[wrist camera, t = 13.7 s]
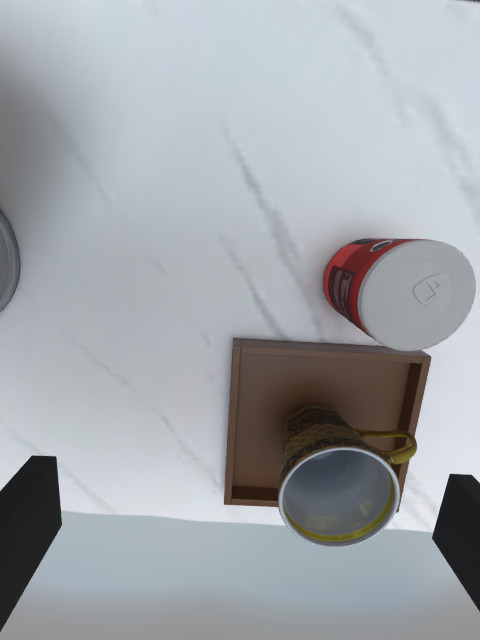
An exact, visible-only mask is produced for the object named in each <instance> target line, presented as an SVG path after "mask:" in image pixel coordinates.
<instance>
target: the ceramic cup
mask: <svg viewBox="0 0 480 640" xmlns="http://www.w3.org/2000/svg"><path fill="white" fill-rule="evenodd" d="M370 436H375V437H407V438H409V439H410V443H409V444H408V445H407V446H405V447H403V448H400V449H397V450H392V451H382V450H380V449H378V448H376V447H374V446H373V445H370V444H369V443H368V442H366V441H365V440H364V439H365V438H366V437H370ZM416 450H417V443H416V440H415V438H414V436H413V435H412V434H411V433H409V432H407V431H403V430H390V431H374V430H359V429H356V428H352V427H351V426H350V425H349V424H348V423H347V422H346V421H344V420H343V419H342V418H341V417H340V416H339V415H338V414H337V413H336V412H335V411H334V409H332V408H328V407H322V406H316V405H310V404H309V405H306V406H305V407H303V408H301V409H300V410H298V411H296V412H295V413H293V414H291V415H290V416H288V418H287V421H286V425H285V429H284V433H283V437H282V452H281V467H280V471H279V480H278V507H279V512H280V514H281V517H282V519H283V521H284V523H285V524H286V526H287V527H288V528H289V530H290V531H292V533H294V534H295V535H296V536H297V537H299V538H300V539H302V540H303V541H306V542H308V543H310V544H313V545H316V546H320V547H326V548H343V547H349V546H353V545H357V544H360V543H363V542H365V541H367V540H369V539H371V538H372V537H374V536H375V535H377V534H378V533H379V532H381V531H382V530H383V529H384V528H385V527H386V526H387V525H388V524H389V522H390V521H391V520H392V518H393V516H394V514H395V512H396V510H397V507H398V504H399V499H400V487H399V482H398V479H397V476H396V474H395V472H394V471H393V469H392V468H391V466H390V465H391V464H400V463H403V462H406V461H408V460H409V459H410V458H411V457H412V456H413V455H414V454H415V452H416Z"/></svg>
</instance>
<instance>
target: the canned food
mask: <svg viewBox="0 0 480 640" xmlns="http://www.w3.org/2000/svg"><path fill="white" fill-rule="evenodd" d="M324 290H325V294H326V297H327V300H328V301H329V303H330V304H331V306H332V307H333V308H334V309H335V310H336V311H338V312H339V313H340V314H341V315H343V316H344V317H345V318H347V319H348V320H349V321H350V322H352V323H353V324H354V325H355V326H357V327H358V328H359V329H361V330H362V331H363V332H364V333H366V334H367V335H368V336H370V337H371V338H373V339H374V340H376V341H377V342H379V343H380V344H382V345H385V346H387V347H389V348H392V349H395V350H401V351H417V350H422V349H427V348H429V347H432V346H434V345H437V344H438V343H440V342H442V341H443V340H445V339H447V338H448V337H449V336H450V335H452V334H453V333H454V332H455V331H456V330H457V329H458V328H459V327H460V325H461V324H462V323H463V322H464V320H465V319H466V317H467V315H468V314H469V312H470V309H471V307H472V304H473V302H474V297H475V291H476V285H475V276H474V272H473V269H472V267H471V265H470V263H469V261H468V260H467V258H466V257H465V256H464V255H463V254H462V253H461V252H460V251H459V250H457V249H456V248H455V247H453V246H451V245H448V244H446V243H443V242H439V241H434V240H427V239H362V240H357V241H354V242H352V243H350V244H348V245H346V246H345V247H343V248H342V249H341V250H340V251H339V252H338V253H337V254H336V255H335V256H334V257H333V258H332V260H331V261H330V263H329V265H328V267H327V269H326V273H325V277H324Z"/></svg>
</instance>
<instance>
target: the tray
mask: <svg viewBox="0 0 480 640" xmlns="http://www.w3.org/2000/svg"><path fill="white" fill-rule="evenodd" d="M430 362H431V356H429V355H428V354H426V353H425V352H423V351H421V350H417V351H401V350H395V349H392V348H389V347H382V346H364V345H346V344H328V343H310V342H292V341H274V340H256V339H238V338H233V353H232V371H231V388H230V405H229V422H228V440H227V457H226V474H225V492H224V505H246V506H268V507H278V480H279V471H280V467H281V452H282V437H283V433H284V429H285V425H286V421H287V418H288V416H290V415H291V414H293V413H295V412H296V411H298V410H300V409H301V408H303V407H305V406H306V405H309V404H310V405H316V406H322V407H328V408H332V409H334V411H335V412H336V413H337V414H338V415H339V416H340V417H341V418H342V419H343V420H344V421H346V422H347V423H348V424H349V425H350V426H351V427H352V428H356V429H359V430H374V431H390V430H403V431H407V432H409V433H411V434H412V435H413V436H415V432H416V427H417V422H418V418H419V413H420V408H421V404H422V399H423V394H424V390H425V385H426V380H427V376H428V371H429V366H430ZM364 440H365V441H366V442H368V443H369V444H370V445H373V446H374V447H376V448H378V449H380V450H382V451H392V450H397V449H400V448H403V447H405V446H407V445H408V444H409V443H410V439H409V438H407V437H375V436H370V437H366V438H365V439H364ZM409 460H410V459H409ZM409 460H408V461H406V462H403V463H400V464H391V465H390V466H391V468H392V469H393V471H394V472H395V474H396V476H397V479H398V482H399V487H400V499H399V504H398V507H397V510H396V512H398V511H399V506H400V502H401V497H402V492H403V488H404V483H405V478H406V474H407V469H408V464H409Z"/></svg>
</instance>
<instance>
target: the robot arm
mask: <svg viewBox="0 0 480 640" xmlns="http://www.w3.org/2000/svg"><path fill="white" fill-rule="evenodd" d="M18 276H19V253H18V248H17V243H16V240H15V237H14V234H13V232H12V229H11V227H10V225H9V223H8V221H7V219H6V218H5V216H4V215H3V213H2V212H1V210H0V311H1V310H2V309H3V308H4V307H5V306H6V305H7V303H8V302H9V300H10V299H11V297H12V295H13V293H14V291H15V288H16V285H17V281H18ZM61 520H62V519H61V507H60V495H59V483H58V471H57V459H56V457H55V456H31V457H30V458H29V459H28V461H27V462H26V463H25V464H24V465H23V466H22V467H21V468H20V470H19V471H18V472H17V473H16V474H15V475H14V476H13V477H12V479H11V480H10V481H9V482H8V483H7V484H6V485H5V486H4V488H3V489H2V490H1V491H0V632H1V630H2V628H3V626H4V625H5V623H6V621H7V619H8V618H9V616H10V614H11V613H12V611H13V609H14V607H15V606H16V604H17V602H18V600H19V599H20V597H21V595H22V594H23V592H24V590H25V588H26V587H27V585H28V583H29V581H30V579H31V578H32V576H33V574H34V573H35V571H36V569H37V568H38V566H39V564H40V562H41V560H42V559H43V557H44V555H45V554H46V552H47V550H48V548H49V547H50V545H51V543H52V541H53V540H54V538H55V536H56V535H57V533H58V531H59V529H60V528H61V526H62V521H61ZM432 539H433V540H434V542H435V544H436V545H437V547H438V548H439V550H440V551H441V553H442V554H443V556H444V557H445V559H446V561H447V562H448V564H449V565H450V567H451V568H452V570H453V571H454V573H455V574H456V576H457V577H458V579H459V581H460V582H461V584H462V585H463V587H464V588H465V590H466V591H467V593H468V594H469V596H470V597H471V599H472V600H473V602H474V604H475V605H476V606H477V608H478V610H479V611H480V483H479V482H478V481H477V480H476V479H475V478H474V477H473V476H472V475H463V474H450V475H449V479H448V482H447V486H446V489H445V493H444V497H443V500H442V504H441V507H440V511H439V515H438V518H437V522H436V525H435V529H434V533H433V537H432Z"/></svg>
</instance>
